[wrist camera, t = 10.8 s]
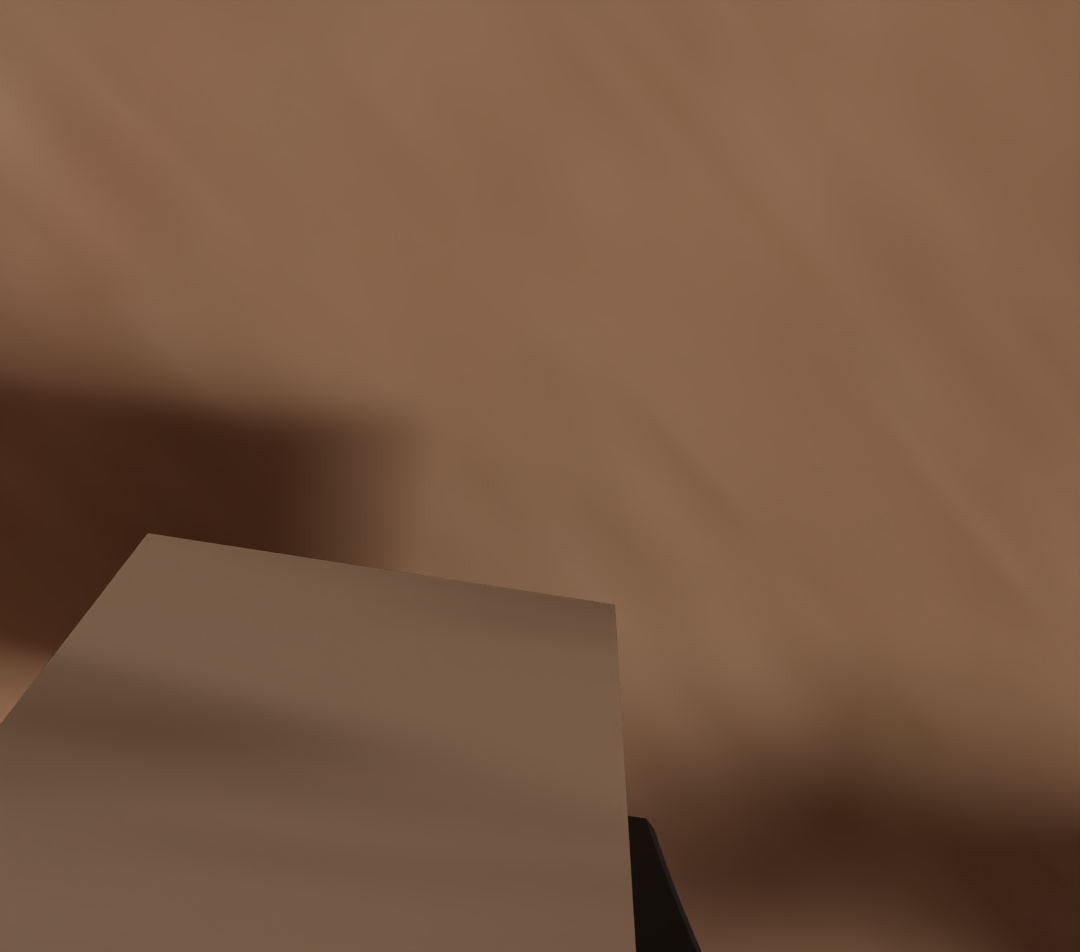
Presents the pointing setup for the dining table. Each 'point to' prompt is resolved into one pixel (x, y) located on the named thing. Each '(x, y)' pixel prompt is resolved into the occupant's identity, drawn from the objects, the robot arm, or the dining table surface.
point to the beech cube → (317, 766)
